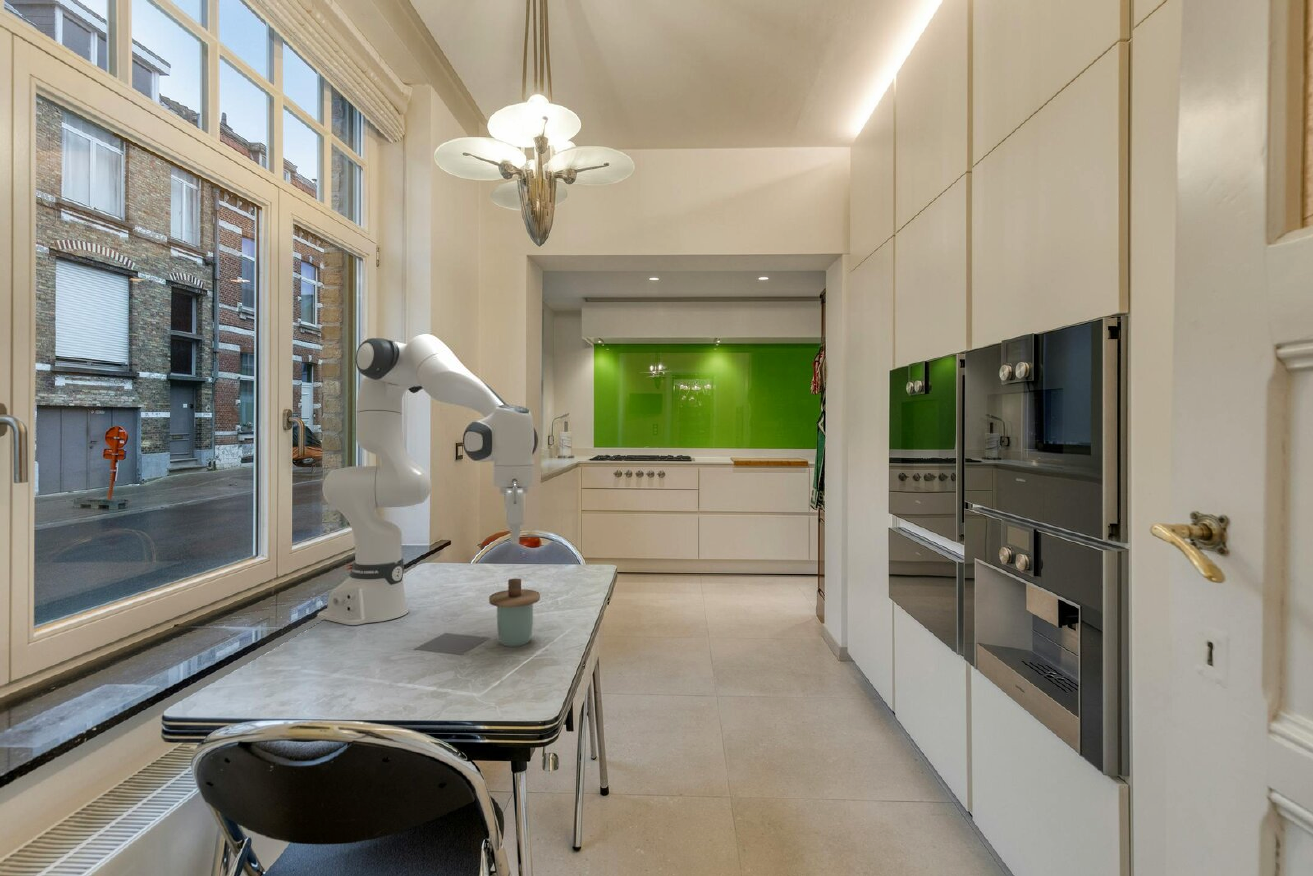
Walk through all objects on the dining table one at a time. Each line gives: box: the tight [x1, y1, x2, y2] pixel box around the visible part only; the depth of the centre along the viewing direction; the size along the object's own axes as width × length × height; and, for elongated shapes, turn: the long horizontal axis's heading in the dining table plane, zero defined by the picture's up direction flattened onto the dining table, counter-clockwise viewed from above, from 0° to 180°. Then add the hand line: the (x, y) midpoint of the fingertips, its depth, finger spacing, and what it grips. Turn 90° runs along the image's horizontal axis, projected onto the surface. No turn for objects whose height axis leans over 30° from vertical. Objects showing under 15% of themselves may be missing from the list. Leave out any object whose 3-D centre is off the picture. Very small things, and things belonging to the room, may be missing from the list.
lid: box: [488, 578, 541, 607], centre depth 131 cm, size 11×11×4 cm
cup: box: [496, 603, 534, 648], centre depth 131 cm, size 8×8×10 cm
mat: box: [413, 632, 491, 656], centre depth 131 cm, size 12×11×1 cm
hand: (514, 539), depth 131 cm, fingers open, 8 cm apart
